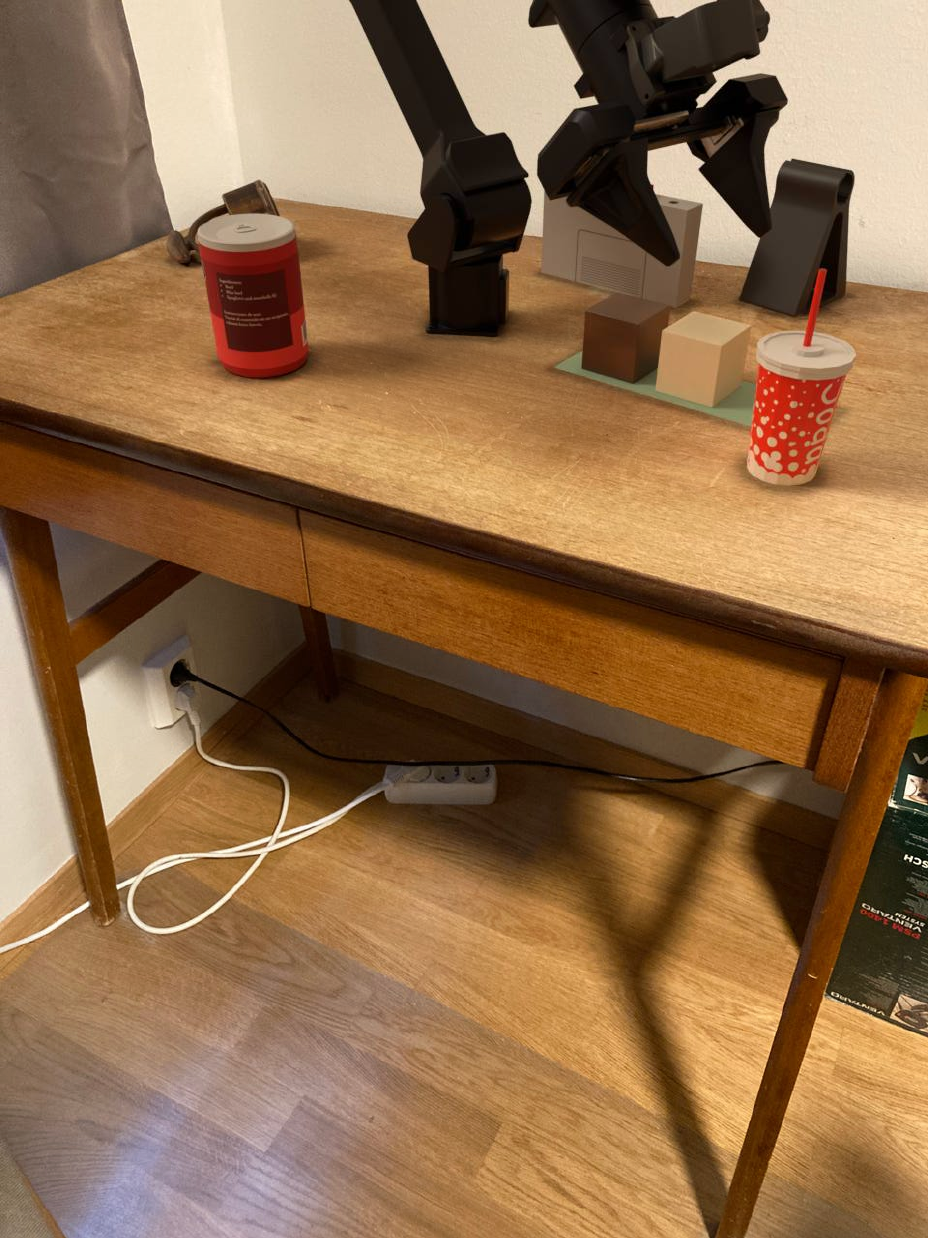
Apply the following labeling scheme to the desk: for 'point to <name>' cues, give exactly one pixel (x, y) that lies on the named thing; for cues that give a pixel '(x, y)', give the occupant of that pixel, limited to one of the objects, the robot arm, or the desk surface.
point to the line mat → (730, 408)
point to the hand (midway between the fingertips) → (721, 247)
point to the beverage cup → (796, 399)
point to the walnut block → (623, 337)
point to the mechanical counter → (235, 202)
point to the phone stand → (802, 239)
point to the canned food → (254, 293)
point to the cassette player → (620, 252)
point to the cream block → (702, 358)
